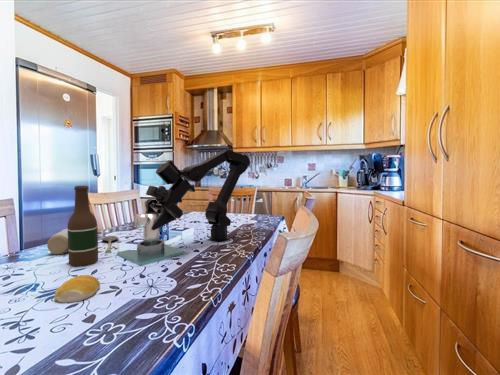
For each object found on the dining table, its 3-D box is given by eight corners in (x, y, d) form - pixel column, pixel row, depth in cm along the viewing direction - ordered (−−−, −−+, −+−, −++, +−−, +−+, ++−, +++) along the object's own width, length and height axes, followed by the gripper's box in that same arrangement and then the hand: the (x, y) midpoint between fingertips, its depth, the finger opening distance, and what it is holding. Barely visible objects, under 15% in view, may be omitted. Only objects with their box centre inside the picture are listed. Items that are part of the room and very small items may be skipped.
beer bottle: (84, 268, 78) (81, 186, 77) (62, 266, 80) (59, 186, 78) (104, 259, 86) (101, 185, 84) (83, 258, 87) (81, 185, 86)
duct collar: (159, 245, 102) (159, 235, 102) (184, 253, 92) (184, 242, 92) (117, 255, 90) (116, 243, 90) (140, 265, 80) (140, 252, 80)
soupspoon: (119, 240, 114) (102, 243, 111) (118, 233, 114) (101, 235, 111) (118, 252, 94) (97, 256, 91) (117, 243, 94) (96, 246, 91)
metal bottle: (155, 248, 95) (155, 211, 94) (161, 251, 91) (161, 213, 90) (133, 252, 89) (133, 213, 89) (139, 255, 86) (139, 215, 85)
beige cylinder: (45, 256, 89) (44, 233, 89) (58, 249, 97) (57, 228, 97) (80, 255, 91) (79, 232, 91) (89, 248, 99) (89, 228, 99)
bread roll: (103, 284, 67) (103, 269, 67) (90, 301, 58) (90, 283, 58) (66, 288, 65) (65, 272, 65) (47, 305, 56) (46, 287, 56)
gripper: (149, 177, 99) (119, 209, 92) (173, 177, 86) (139, 215, 79) (169, 197, 105) (142, 228, 98) (195, 200, 91) (165, 237, 84)
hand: (146, 227), depth 90 cm, fingers open, 9 cm apart
